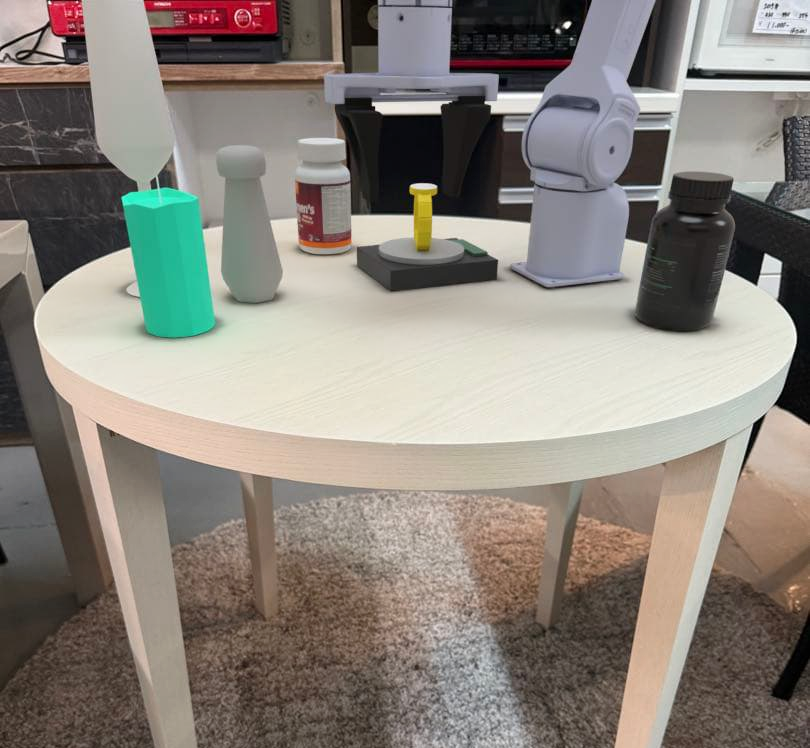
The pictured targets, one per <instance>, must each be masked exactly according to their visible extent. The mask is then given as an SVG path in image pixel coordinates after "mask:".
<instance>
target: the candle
mask: <svg viewBox="0 0 810 748" xmlns="http://www.w3.org/2000/svg"><path fill="white" fill-rule="evenodd" d="M155 180H156V185H157V186H156V187H157V188H155V189H151V190H148V191H139V192H138V191H130V192H128V193H127V194H125V195H123V196H121V202H122V209H123V213H124V219H125V223H126V230H127V234H128V235H127V236H128V238H129V244H130V245H129V246H130V250H131V257H132V260H133V262H132V263H133V266H134V272H135V277H136V280H137V283H138V289H139V294H140V297H139V298H140V299H139V300H140V304H141V311H142V314H143V315H142V316H143V320H144V327H145V330H146V333H147V334H150V335H153V336H155V337H159V338H160V337H161V338H173V339H176V338H185V337H194V336H197V335H200V334H204V333H208V332H210V331H211V330H212V329H213V328H214V327H215V326H216V320H215V313H214V305H213V297H212V290H211V282H210V275H209V268H208V259H207V253H206V252H207V251H206V246H205V245H206V244H205V237H204V229H203V222H202V216H201V215H202V214H201V206H200V199H199V198H198V196H197V195H193V194H192V193H188V192H186V191H183V190H178V189H174V188H170V187H161V188H160V181H159V175H157V176H156V177H155Z"/></svg>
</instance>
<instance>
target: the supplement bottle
mask: <svg viewBox="0 0 810 748" xmlns="http://www.w3.org/2000/svg"><path fill="white" fill-rule="evenodd" d="M733 185H734V177H733V176H731V175H728V174H725V173H718V172H711V171H679V172H675V173H673V175H672V178H671V183H670V188H669V191H668V195H667V198H668V199H669V203H668V205H666V206H664V207H662V208H661V209H659V210H658V211H657V212H656V213H655V214H654V216H653V217H652V219H651V222H650V228H649V232H648V239H647V244H646V248H645V249H646V250H645V254H644V260H643V266H642V271H641V275H640V280H639V287H638V292H637V297H636V303H635V310H634V311H635V312H634V313H635V316H636V318H637V319H638V321H640V322H641V323H642V324H645V325H647V326H649V327H653V328H657V329H660V330H667V331H674V332H692V331H698V330H702V329H704V328H706V327H708V326H709V325H710V324H711V323H712V321H713V320H714V316H715V312H716V307H717V304H718V300H719V296H720V291H721V288H722V283H723V279H724V277H725V276H724V275H725V272H726V269H727V263H728V260H729V257H730V252H731V248H732V243H733V239H734V235H735V231H736V223H735V219H734V217H733V216H732V214H731V213H730V212H728V211H727V209H726V204H729V203H730V202H731V198H732V195H731V193H732V188H733Z"/></svg>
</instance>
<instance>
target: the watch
mask: <svg viewBox="0 0 810 748" xmlns="http://www.w3.org/2000/svg"><path fill="white" fill-rule="evenodd" d="M409 194H410V195H412V196H414V198H413V237H414V242H415V245H416V250H429V249H430V245H431V238H432V232H433V199H432V197H433V196H436V195H437V194H438V185H436V184H433V183H426V182H425V183H424V182H419V183H412V184H410V185H409Z"/></svg>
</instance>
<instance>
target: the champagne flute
mask: <svg viewBox="0 0 810 748" xmlns="http://www.w3.org/2000/svg"><path fill="white" fill-rule="evenodd" d="M81 8H82V9H81V10H82V16H83V17H82V18H83V26H84V27H83V28H84V35H85V45H86V55H87V62H88V73H89V82H90V91H91V100H92V109H93V118H94V127H95V137H96V143H97V145H98V148H99V149H100V151H101V152H102V154H103V155H104V156H105V157H106V159H107V160H108V161H109V163H111V164H112V165H113V166H114V167H116V168H117V169H118V170H119V171H121V172H122V173H123V174H124V175H125V176H126V177H128V178H129V179H130V180H133V181H135V182H136V185H137V192H139V191H148V190H152V185H151V181H152V180H153V179H156V176H159V174H160V172H162V169H164V167H165V166H166V164H167V163H168V162H169V160H170V158H171V156H172V155H173V151H174V149H175V146H176V138H175V133H174V129H173V125H172V120H171V116H170V112H169V106H168V103H167V98H166V94H165V89H164V85H163V81H162V76H161V72H160V67H159V64H158V58H157V55H156V51H155V50H156V49H155V46H154V41H153V36H152V32H151V28H150V24H149V19H148V14H147V10H146V5H145V2H144V0H81ZM125 291H126V293H127V294H129V295H130V296H133V297H138V298H140V294H139V289H138V283H137V279H136V280H134V282H132V283H131V284H130V285H129V286H127V288H126V290H125Z"/></svg>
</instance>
